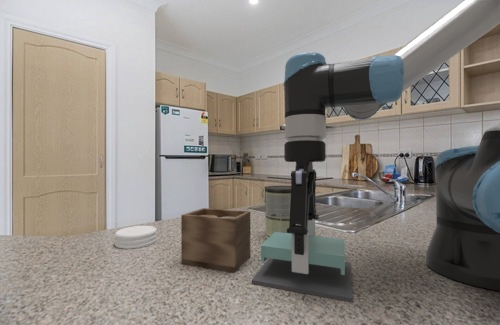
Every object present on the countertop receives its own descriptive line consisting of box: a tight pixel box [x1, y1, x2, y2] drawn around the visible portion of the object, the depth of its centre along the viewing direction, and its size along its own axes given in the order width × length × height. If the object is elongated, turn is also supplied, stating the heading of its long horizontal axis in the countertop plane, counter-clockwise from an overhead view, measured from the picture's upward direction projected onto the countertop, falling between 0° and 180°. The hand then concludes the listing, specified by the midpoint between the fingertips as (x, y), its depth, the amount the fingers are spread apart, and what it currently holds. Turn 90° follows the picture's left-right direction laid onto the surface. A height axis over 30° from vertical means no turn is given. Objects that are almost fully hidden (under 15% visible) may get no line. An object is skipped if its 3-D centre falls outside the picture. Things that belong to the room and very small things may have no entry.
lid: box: [260, 232, 346, 275], centre depth 45 cm, size 14×10×3 cm
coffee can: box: [264, 185, 301, 240], centre depth 68 cm, size 10×10×14 cm
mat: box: [251, 258, 354, 303], centre depth 45 cm, size 16×14×1 cm
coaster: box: [114, 225, 158, 250], centre depth 64 cm, size 10×10×4 cm
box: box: [180, 207, 251, 273], centre depth 52 cm, size 12×8×10 cm
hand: (304, 260), depth 45 cm, fingers closed on lid, 9 cm apart
